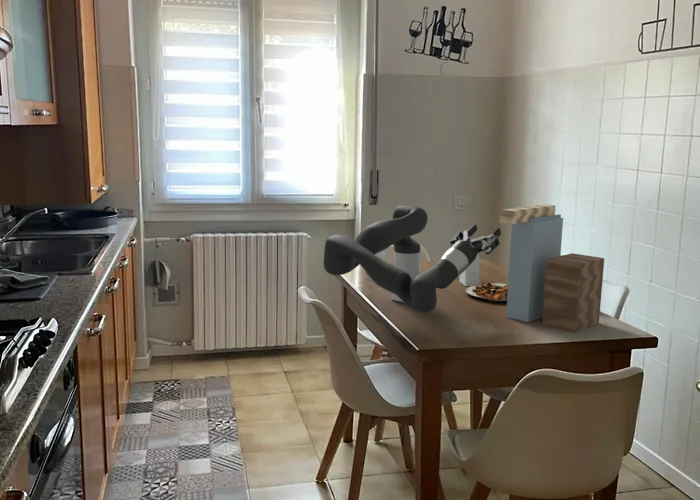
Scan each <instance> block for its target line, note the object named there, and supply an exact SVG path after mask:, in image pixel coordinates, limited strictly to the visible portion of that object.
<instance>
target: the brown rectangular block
mask: <svg viewBox="0 0 700 500" xmlns="http://www.w3.org/2000/svg"><path fill="white" fill-rule="evenodd" d="M499 213H500V215H499V224H505V225H512V224H517V223H523V222H530V219H531V218H537V217H544V216H551V215H556V205H554V204H553V205H551V204H537V205H530V206H521V207H514V208H513V207H511V208H506V209H500V212H499Z"/></svg>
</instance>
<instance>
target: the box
mask: <svg viewBox="0 0 700 500" xmlns="http://www.w3.org/2000/svg"><path fill="white" fill-rule="evenodd" d="M375 256H377V257H378V258H380V259H381V260H383V261H385V262H386V263H388V248H386V249H385V250H383V251H381V252H379V253H377V254H375Z"/></svg>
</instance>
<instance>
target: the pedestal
mask: <svg viewBox="0 0 700 500" xmlns="http://www.w3.org/2000/svg"><path fill="white" fill-rule="evenodd" d="M563 224H564V217H562V214H555V215H551V216H544V217H537V218H531V219H530V222H523V223H517V224H511V228H510V229H511V230H510V247H509V264H508V265H509V266H508V280H507V282H508V294H507V301H506V312H505V313H506V315H505V318H508V319H511V320H512V319H513V320H515V321H516V320H517V321H521V322H525V323H529V322H532V321H536V320H539V319H541V318H542V319H543V305H544V291H545V277H546V263H547V259H549V258H554V257H558V256H562V255H561V252H562V240H563V228H564V225H563Z"/></svg>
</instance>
